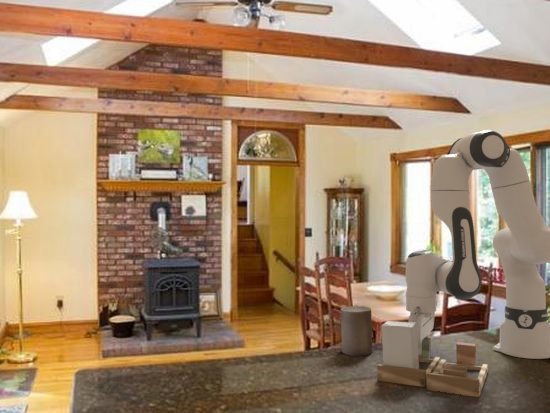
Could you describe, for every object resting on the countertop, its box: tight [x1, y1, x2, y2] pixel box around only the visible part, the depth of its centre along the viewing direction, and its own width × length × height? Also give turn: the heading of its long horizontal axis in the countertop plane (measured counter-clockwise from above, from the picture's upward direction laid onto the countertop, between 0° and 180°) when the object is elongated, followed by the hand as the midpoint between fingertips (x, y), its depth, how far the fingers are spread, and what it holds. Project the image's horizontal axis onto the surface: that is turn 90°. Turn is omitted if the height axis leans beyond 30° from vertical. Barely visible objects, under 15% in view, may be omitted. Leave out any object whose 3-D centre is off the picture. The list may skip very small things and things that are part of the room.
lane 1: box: [376, 337, 442, 388], centre depth 149 cm, size 27×12×6 cm, turn 153°
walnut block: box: [442, 364, 468, 377], centre depth 134 cm, size 5×5×5 cm
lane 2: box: [426, 341, 489, 398], centre depth 141 cm, size 27×12×6 cm, turn 153°
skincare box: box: [381, 320, 420, 369], centre depth 141 cm, size 8×6×15 cm
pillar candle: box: [340, 304, 373, 357], centre depth 168 cm, size 10×10×15 cm
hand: (421, 350), depth 160 cm, fingers open, 6 cm apart
